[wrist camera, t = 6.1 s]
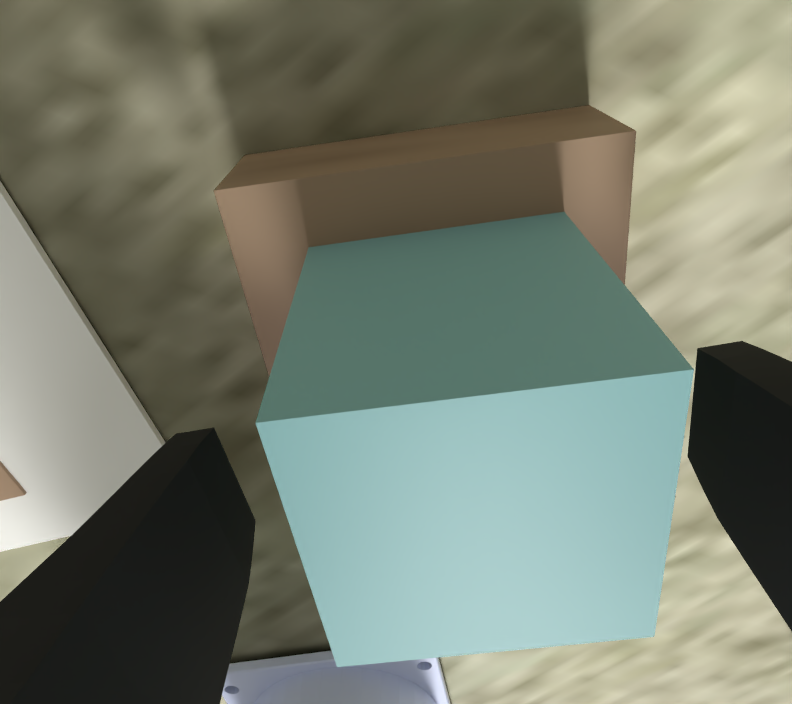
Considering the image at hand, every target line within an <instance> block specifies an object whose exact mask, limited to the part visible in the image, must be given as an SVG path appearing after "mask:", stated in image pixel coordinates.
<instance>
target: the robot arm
mask: <svg viewBox="0 0 792 704" xmlns="http://www.w3.org/2000/svg"><path fill="white" fill-rule="evenodd" d="M688 458H689V460H690V462H691V464H692V467H693V469H694V471H695V473H696V475H697V477H698V480H699V482H700V484H701V486H702V488H703V490H704V492H705V494H706V496H707V498H708V500H709V502H710V504H711V506H712V508H713V510H714V512H715V514H716V516H717V518H718V519H719V521H720V523H721V524H722V526H723V527H724V529H725V530H726V532H727V534H728V535H729V537H730V538H731V540H732V541H733V543H734V544H735V546H736V547H737V549H738V550H739V552H740V554H741V555H742V557H743V558H744V560H745V561H746V563H747V564H748V566H749V567H750V569H751V570H752V572H753V573H754V575H755V576H756V578H757V579H758V581H759V582H760V584H761V585H762V587H763V589H764V590H765V592H766V593H767V595H768V596H769V598H770V599H771V601H772V602H773V604H774V605H775V607H776V608H777V610H778V611H779V613H780V614H781V616H782V617H783V619H784V620H785V622H786V623H787V625H788V626H789V628H790V629H791V631H792V362H791V361H789V360H786V359H784V358H782V357H780V356H777V355H775V354H773V353H771V352H768V351H766V350H763V349H761V348H759V347H756V346H753V345H751V344H748V343H746V342H743V341H739V342H733V343H727V344H721V345H715V346H709V347H703V348H698V349H697V360H696V371H695V381H694V392H693V403H692V414H691V425H690V436H689V447H688ZM254 532H255V519H254V516H253V514H252V512H251V510H250V507H249V505H248V503H247V501H246V498H245V496H244V494H243V492H242V489H241V487H240V485H239V483H238V480H237V478H236V476H235V474H234V471H233V469H232V467H231V465H230V463H229V460H228V458H227V456H226V454H225V451H224V449H223V447H222V445H221V442H220V440H219V438H218V436H217V433H216V431H215V429H214V428H209V429H203V430H197V431H190V432H184V433H178V434H175V435H174V436H173V437H172V438H171V439H170V440H168V441H167V442H166V443H165V444H164V445H163V446H162V447H161V448H160V449H159V450H157V451H156V452H155V453H154V454H153V455H152V456H151V457H150V458H149V459H148V460H147V461H146V462H145V463H144V464H143V465H142V466H141V467H140V468H139V469H138V470H137V471H136V472H135V473H134V474H133V475H132V476H131V477H130V478H129V479H128V480H127V481H126V482H125V483H124V484H123V485H122V486H121V487H120V488H119V489H118V490H117V491H116V492H115V493H114V494H113V495H112V496H111V497H110V498H109V499H108V500H107V501H106V502H105V503H104V504H103V505H102V506H101V507H100V508H99V509H98V510H97V511H96V512H95V513H94V514H93V515H92V516H91V517H90V518H89V519H88V520H87V521H86V522H85V523H84V524H83V525H82V526H81V527H80V528H79V529H78V530H77V531H76V532H75V533H74V534H73V535H72V536H71V537H70V538H68V539H67V540H66V541H65V542H64V543H63V544H62V545H61V546H60V547H59V548H58V549H57V550H56V551H55V552H54V553H52V554H51V555H50V556H49V557H48V558H47V559H46V560H45V561H44V562H43V563H42V564H41V565H40V566H38V567H37V568H36V569H35V570H34V571H33V572H32V573H31V574H30V575H29V576H28V577H27V578H26V579H24V580H23V581H22V582H21V583H20V584H19V585H18V586H17V587H16V588H15V589H14V590H13V591H12V592H10V593H9V594H8V595H7V596H6V597H5V598H4V599H3V600H2V601H1V602H0V704H220V700H221V696H223V698H224V699H225V701H226V702H227V704H451V703H450V700H449V696H448V692H447V688H446V684H445V680H444V676H443V673H442V669H441V665H440V661H439V657H438V658H428V659H417V660H407V661H397V662H386V663H376V664H365V665H355V666H345V667H337V665H336V662H335V659H334V656H333V653H332V650H331V651H324V652H316V653H308V654H300V655H293V656H285V657H277V658H269V659H262V660H254V661H246V662H238V663H231V664H230V660H231V655H232V651H233V647H234V643H235V639H236V635H237V631H238V627H239V623H240V618H241V614H242V610H243V606H244V602H245V597H246V593H247V589H248V584H249V577H250V569H251V561H252V553H253V542H254Z"/></svg>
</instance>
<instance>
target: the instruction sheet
mask: <svg viewBox="0 0 792 704" xmlns="http://www.w3.org/2000/svg"><path fill="white" fill-rule="evenodd" d="M165 443H166V442H165V441H164V439H163V438H162V436H161V435H160V433H159V431H158V430H157V428H156V427H155V425H154V423H153V422H152V420H151V419H150V417H149V416H148V414H147V412H146V411H145V409H144V408H143V406H142V404H141V403H140V401H139V400H138V398H137V397H136V395H135V393H134V392H133V390H132V389H131V387H130V385H129V384H128V382H127V381H126V379H125V378H124V376H123V374H122V373H121V371H120V370H119V368H118V366H117V365H116V363H115V362H114V360H113V359H112V357H111V355H110V354H109V352H108V351H107V349H106V347H105V346H104V344H103V343H102V341H101V340H100V338H99V336H98V335H97V333H96V332H95V330H94V328H93V327H92V325H91V324H90V322H89V321H88V319H87V317H86V316H85V314H84V313H83V311H82V309H81V308H80V306H79V305H78V303H77V302H76V300H75V298H74V297H73V295H72V294H71V292H70V290H69V289H68V287H67V286H66V284H65V283H64V281H63V279H62V278H61V276H60V275H59V273H58V271H57V270H56V268H55V267H54V265H53V264H52V262H51V260H50V259H49V257H48V256H47V254H46V252H45V251H44V249H43V248H42V246H41V245H40V243H39V241H38V240H37V238H36V237H35V235H34V233H33V232H32V230H31V229H30V227H29V226H28V224H27V222H26V221H25V219H24V218H23V216H22V214H21V213H20V211H19V210H18V208H17V207H16V205H15V203H14V202H13V200H12V199H11V197H10V195H9V194H8V192H7V191H6V189H5V188H4V186H3V184H2V183H1V181H0V552H1V551H5V550H10V549H14V548H19V547H23V546H28V545H32V544H36V543H41V542H45V541H50V540H54V539H59V538H63V537H68V536H72V535H73V534H74V533H75V532H76V531H77V530H78V529H79V528H80V527H81V526H82V525H83V524H84V523H85V522H86V521H87V520H88V519H89V518H90V517H91V516H92V515H93V514H94V513H95V512H96V511H97V510H98V509H99V508H100V507H101V506H102V505H103V504H104V503H105V502H106V501H107V500H108V499H109V498H110V497H111V496H112V495H113V494H114V493H115V492H116V491H117V490H118V489H119V488H120V487H121V486H122V485H123V484H124V483H125V482H126V481H127V480H128V479H129V478H130V477H131V476H132V475H133V474H134V473H135V472H136V471H137V470H138V469H139V468H140V467H141V466H142V465H143V464H144V463H145V462H146V461H147V460H148V459H149V458H150V457H151V456H152V455H153V454H154V453H155V452H156V451H157V450H159V449H160V448H161V447H162V446H163V445H164V444H165Z"/></svg>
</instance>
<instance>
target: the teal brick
mask: <svg viewBox="0 0 792 704" xmlns="http://www.w3.org/2000/svg"><path fill="white" fill-rule="evenodd" d="M693 371H694V369H693V368H692V367H691V365H690V364H689V363H688V362H687V361H686V359H685V358H684V357H683V356H682V354H681V353H680V352H679V351H678V350H677V348H676V347H675V346H674V345H673V344H672V342H671V341H670V340H669V339H668V337H667V336H666V335H665V334H664V333H663V331H662V330H661V329H660V328H659V326H658V325H657V324H656V323H655V322H654V320H653V319H652V318H651V317H650V316H649V314H648V313H647V312H646V311H645V309H644V308H643V307H642V306H641V305H640V303H639V302H638V301H637V300H636V298H635V297H634V296H633V295H632V294H631V292H630V291H629V290H628V289H627V287H626V286H625V285H624V284H623V283H622V281H621V280H620V279H619V278H618V277H617V275H616V274H615V273H614V272H613V270H612V269H611V268H610V267H609V266H608V264H607V263H606V262H605V261H604V259H603V258H602V257H601V256H600V255H599V253H598V252H597V251H596V250H595V249H594V247H593V246H592V245H591V244H590V242H589V241H588V240H587V239H586V238H585V236H584V235H583V234H582V233H581V231H580V230H579V229H578V228H577V227H576V225H575V224H574V223H573V222H572V221H571V219H570V218H569V217H568V216H567V214H566V213H565V212H559V213H551V214H544V215H537V216H530V217H523V218H516V219H508V220H501V221H494V222H487V223H480V224H472V225H465V226H458V227H451V228H444V229H437V230H429V231H422V232H415V233H408V234H401V235H393V236H386V237H379V238H372V239H365V240H358V241H350V242H343V243H336V244H329V245H322V246H315V247H309V248H308V251H307V254H306V258H305V261H304V264H303V267H302V271H301V274H300V277H299V281H298V284H297V287H296V291H295V294H294V297H293V300H292V304H291V307H290V310H289V314H288V317H287V320H286V324H285V327H284V330H283V333H282V337H281V340H280V343H279V347H278V350H277V353H276V357H275V360H274V363H273V366H272V370H271V373H270V376H269V380H268V383H267V386H266V390H265V393H264V396H263V399H262V403H261V406H260V409H259V413H258V416H257V419H256V426H257V429H258V432H259V435H260V438H261V441H262V444H263V447H264V450H265V453H266V456H267V459H268V462H269V465H270V468H271V471H272V474H273V477H274V480H275V483H276V486H277V489H278V492H279V495H280V498H281V501H282V504H283V507H284V510H285V513H286V516H287V519H288V522H289V525H290V528H291V531H292V534H293V537H294V540H295V543H296V546H297V549H298V552H299V555H300V558H301V561H302V564H303V567H304V570H305V573H306V576H307V579H308V582H309V585H310V588H311V591H312V594H313V597H314V600H315V603H316V606H317V609H318V612H319V615H320V618H321V621H322V624H323V627H324V630H325V633H326V636H327V638H328V641H329V644H330V647H331V650H332V653H333V656H334V659H335V662H336V665H337V667H345V666H355V665H365V664H376V663H386V662H397V661H407V660H417V659H428V658H438V657H449V656H459V655H469V654H480V653H490V652H501V651H511V650H521V649H532V648H542V647H553V646H563V645H573V644H584V643H594V642H605V641H615V640H625V639H636V638H646V637H654V635H655V628H656V621H657V615H658V608H659V601H660V594H661V588H662V581H663V574H664V567H665V561H666V554H667V547H668V540H669V534H670V527H671V520H672V513H673V507H674V500H675V493H676V486H677V479H678V473H679V466H680V459H681V452H682V446H683V439H684V432H685V425H686V419H687V412H688V405H689V398H690V392H691V385H692V378H693Z"/></svg>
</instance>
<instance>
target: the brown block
mask: <svg viewBox="0 0 792 704" xmlns="http://www.w3.org/2000/svg"><path fill="white" fill-rule="evenodd" d="M635 138H636V131H635V130H634V129H632V128H630V127H628V126H626V125H624V124H623V123H621V122H619V121H617V120H615V119H613V118H612V117H610V116H608V115H606V114H604V113H603V112H601V111H599V110H597V109H595V108H593V107H592V106H590V105H586V106H579V107H572V108H566V109H559V110H552V111H545V112H538V113H531V114H524V115H517V116H510V117H503V118H497V119H490V120H483V121H476V122H469V123H462V124H455V125H448V126H441V127H434V128H428V129H421V130H414V131H407V132H400V133H393V134H386V135H379V136H372V137H366V138H359V139H352V140H345V141H338V142H331V143H324V144H317V145H310V146H303V147H297V148H290V149H283V150H276V151H269V152H262V153H255V154H248V155H244V156H243V158H242V159H241V160H240V161H239V162H238V163H237V164H236V166H235V167H234V168H233V169H232V170H231V171H230V172H229V174H228V175H227V176H226V177H225V178H224V179H223V180H222V182H221V183H220V184H219V185H218V186H217V187H216V188H215V190H214V194H215V197H216V200H217V204H218V207H219V211H220V214H221V217H222V221H223V224H224V227H225V231H226V234H227V237H228V241H229V244H230V247H231V251H232V254H233V257H234V261H235V264H236V268H237V271H238V274H239V278H240V281H241V284H242V288H243V291H244V294H245V298H246V301H247V304H248V308H249V311H250V315H251V318H252V321H253V325H254V328H255V331H256V335H257V338H258V341H259V345H260V348H261V351H262V355H263V358H264V362H265V365H266V368H267V372H268V375H269V376H270V373H271V370H272V366H273V363H274V360H275V357H276V353H277V350H278V347H279V343H280V340H281V337H282V333H283V330H284V327H285V324H286V320H287V317H288V314H289V310H290V307H291V304H292V300H293V297H294V294H295V291H296V287H297V284H298V281H299V277H300V274H301V271H302V267H303V264H304V261H305V258H306V254H307V251H308V248H309V247H315V246H322V245H329V244H336V243H343V242H350V241H358V240H365V239H372V238H379V237H386V236H393V235H401V234H408V233H415V232H422V231H429V230H437V229H444V228H451V227H458V226H465V225H472V224H480V223H487V222H494V221H501V220H508V219H516V218H523V217H530V216H537V215H544V214H551V213H559V212H565V213H566V214H567V216H568V217H569V218H570V219H571V221H572V222H573V223H574V224H575V225H576V227H577V228H578V229H579V230H580V231H581V233H582V234H583V235H584V236H585V238H586V239H587V240H588V241H589V242H590V244H591V245H592V246H593V247H594V249H595V250H596V251H597V252H598V253H599V255H600V256H601V257H602V258H603V259H604V261H605V262H606V263H607V264H608V266H609V267H610V268H611V269H612V270H613V272H614V273H615V274H616V275H617V277H618V278H619V279H620V280H621V281H622V283H623V284H624V285H625V273H626V260H627V246H628V233H629V219H630V206H631V192H632V179H633V165H634V152H635Z"/></svg>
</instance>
